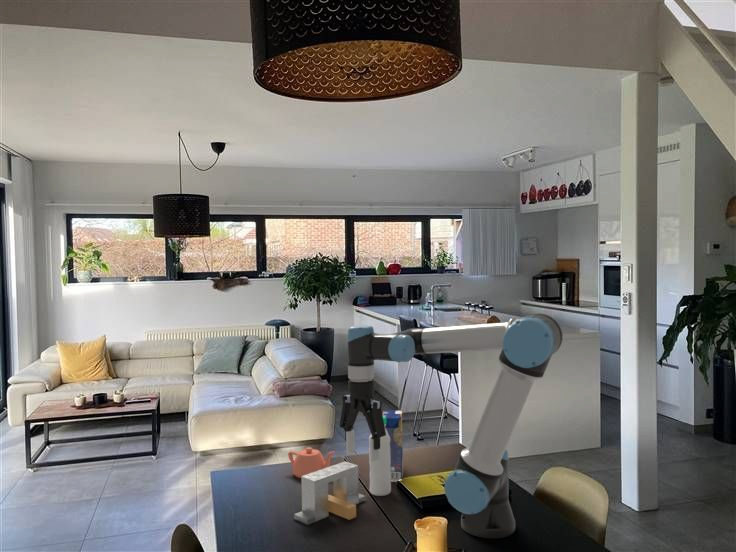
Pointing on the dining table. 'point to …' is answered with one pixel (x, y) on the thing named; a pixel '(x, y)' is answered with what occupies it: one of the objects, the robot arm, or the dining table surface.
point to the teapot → (308, 461)
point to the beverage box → (395, 442)
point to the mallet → (341, 507)
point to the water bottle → (381, 467)
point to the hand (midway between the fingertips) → (362, 456)
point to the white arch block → (317, 490)
